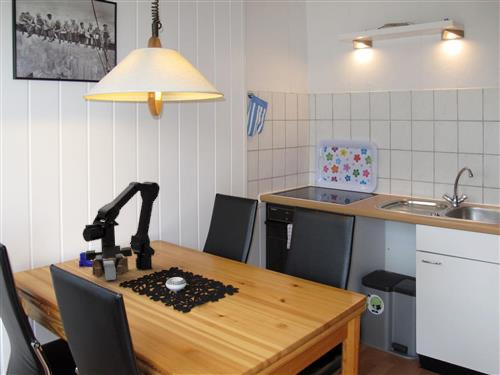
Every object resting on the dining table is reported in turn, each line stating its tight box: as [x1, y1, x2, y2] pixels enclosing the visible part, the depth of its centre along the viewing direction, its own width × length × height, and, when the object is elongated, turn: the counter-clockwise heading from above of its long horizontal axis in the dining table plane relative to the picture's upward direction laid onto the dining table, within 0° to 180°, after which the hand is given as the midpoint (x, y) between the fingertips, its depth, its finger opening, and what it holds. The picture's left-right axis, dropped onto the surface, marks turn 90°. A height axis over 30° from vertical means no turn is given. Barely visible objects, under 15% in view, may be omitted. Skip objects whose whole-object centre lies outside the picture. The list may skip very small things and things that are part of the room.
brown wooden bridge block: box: [91, 256, 129, 278], centre depth 225 cm, size 15×6×6 cm, turn 109°
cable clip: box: [78, 251, 104, 268], centre depth 238 cm, size 12×4×6 cm, turn 88°
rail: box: [103, 260, 117, 281], centre depth 218 cm, size 4×12×5 cm, turn 19°
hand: (109, 273), depth 218 cm, fingers closed on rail, 4 cm apart
